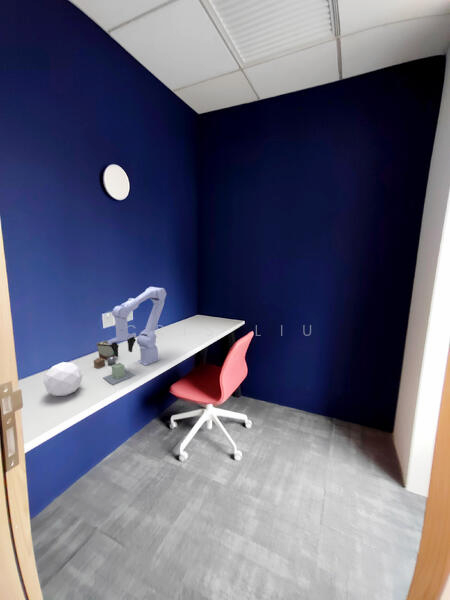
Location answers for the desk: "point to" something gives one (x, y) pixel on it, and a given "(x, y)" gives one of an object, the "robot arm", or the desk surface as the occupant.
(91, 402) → the desk surface
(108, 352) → the food container
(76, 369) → the geometric shape
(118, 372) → the green block
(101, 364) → the walnut cube
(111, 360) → the metal cylinder
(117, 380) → the mat
